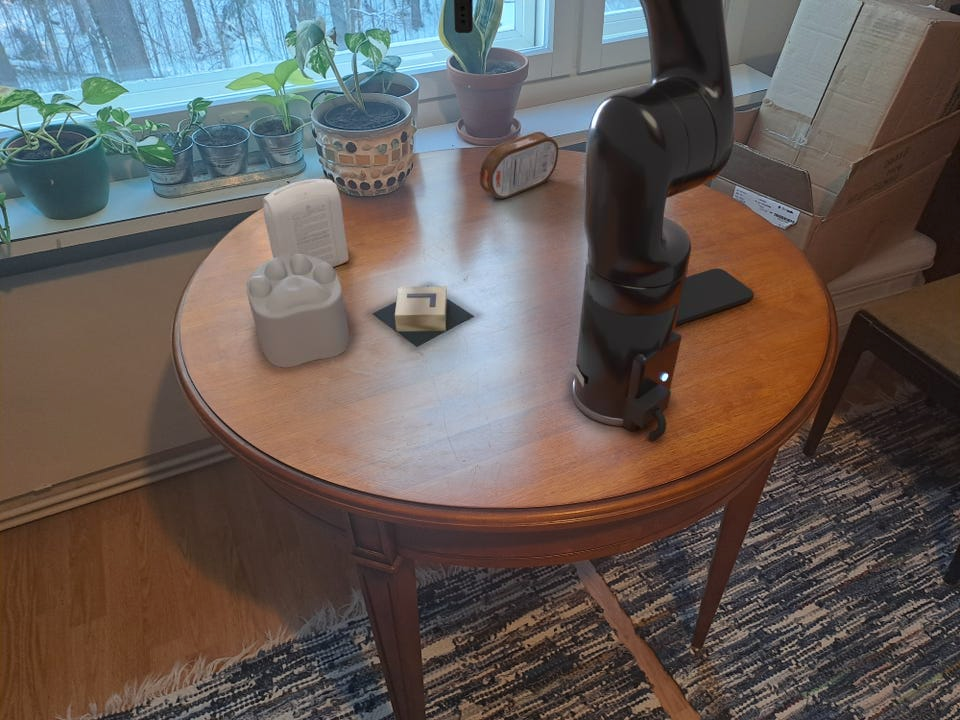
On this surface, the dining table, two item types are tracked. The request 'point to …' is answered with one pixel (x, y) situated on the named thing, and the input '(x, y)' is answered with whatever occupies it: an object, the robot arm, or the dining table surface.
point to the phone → (710, 294)
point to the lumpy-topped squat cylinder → (298, 310)
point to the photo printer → (307, 221)
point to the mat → (419, 337)
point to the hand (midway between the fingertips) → (464, 31)
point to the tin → (518, 165)
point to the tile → (421, 309)
